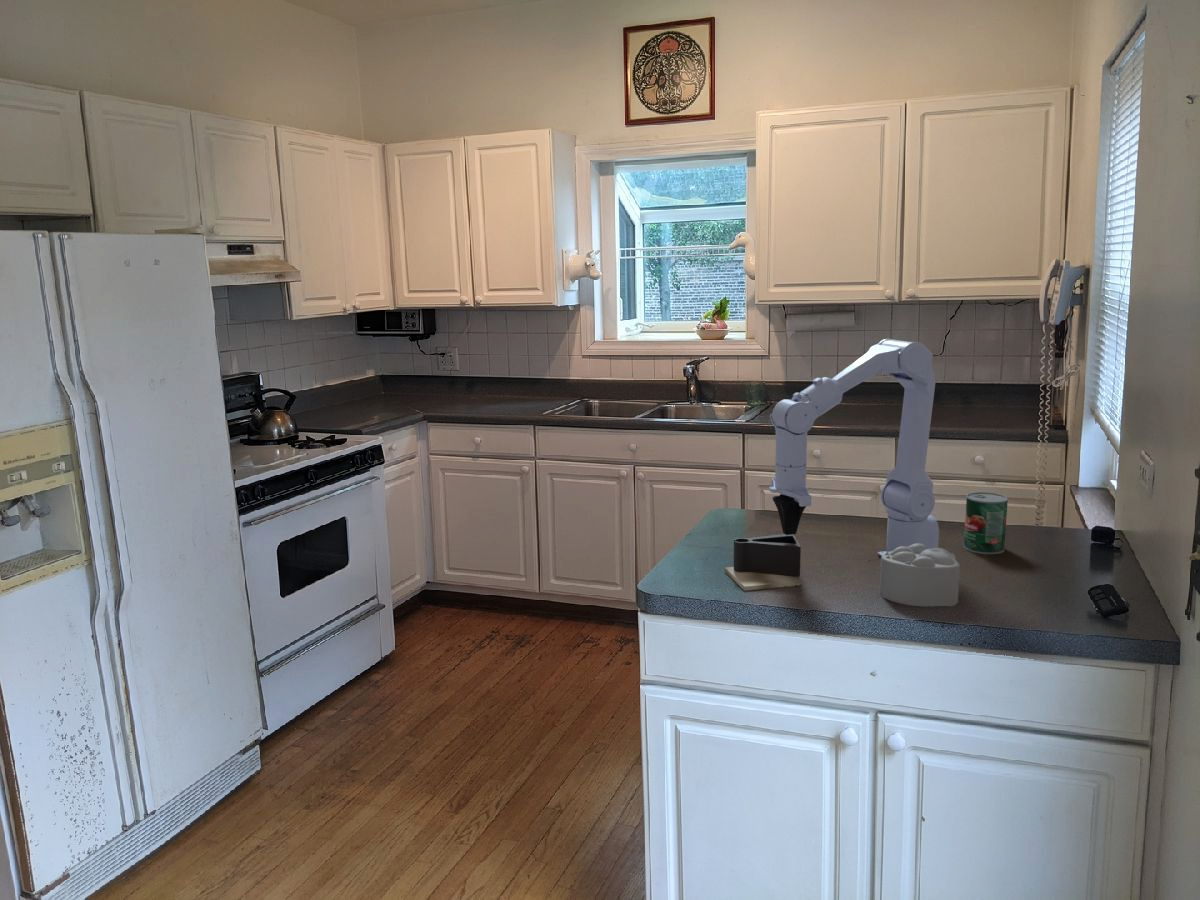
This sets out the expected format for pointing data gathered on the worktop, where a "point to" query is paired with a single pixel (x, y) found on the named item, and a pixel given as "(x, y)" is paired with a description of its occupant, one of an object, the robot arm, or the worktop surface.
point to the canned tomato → (985, 523)
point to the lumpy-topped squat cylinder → (920, 576)
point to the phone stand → (768, 555)
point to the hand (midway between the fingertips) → (789, 533)
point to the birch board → (760, 580)
